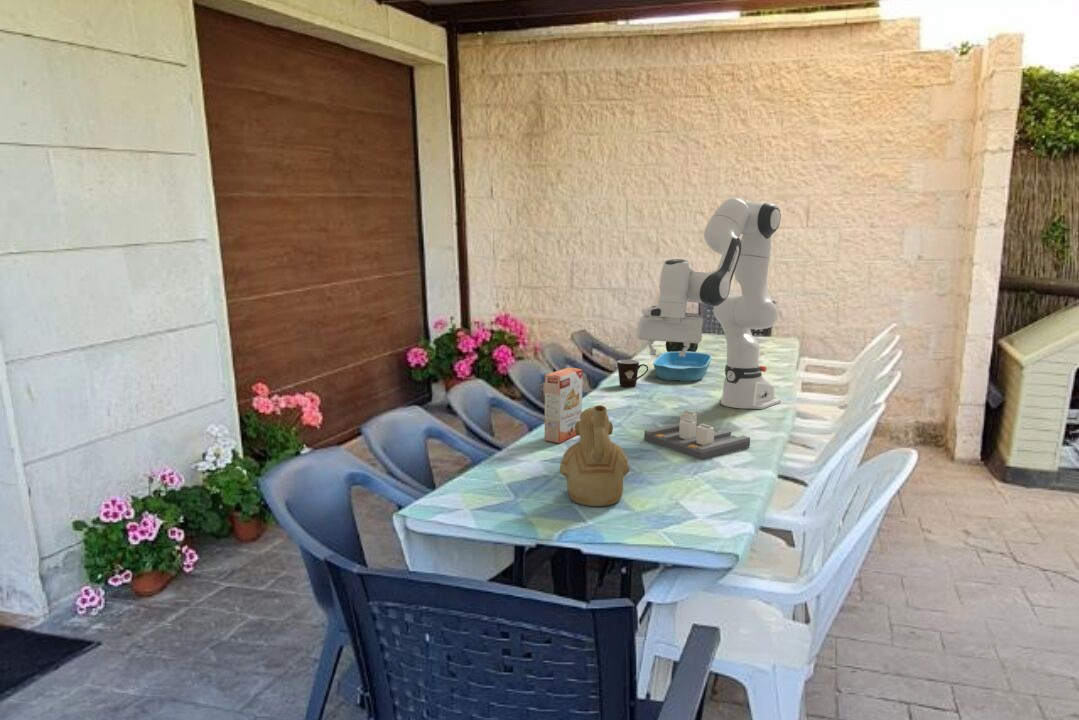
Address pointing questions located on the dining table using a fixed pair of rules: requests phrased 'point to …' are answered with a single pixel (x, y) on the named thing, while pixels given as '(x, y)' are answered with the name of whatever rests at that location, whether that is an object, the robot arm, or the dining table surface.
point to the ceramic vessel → (594, 461)
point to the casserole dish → (682, 366)
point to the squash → (680, 346)
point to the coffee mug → (629, 372)
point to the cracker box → (562, 404)
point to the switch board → (671, 440)
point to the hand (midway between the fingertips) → (667, 356)
